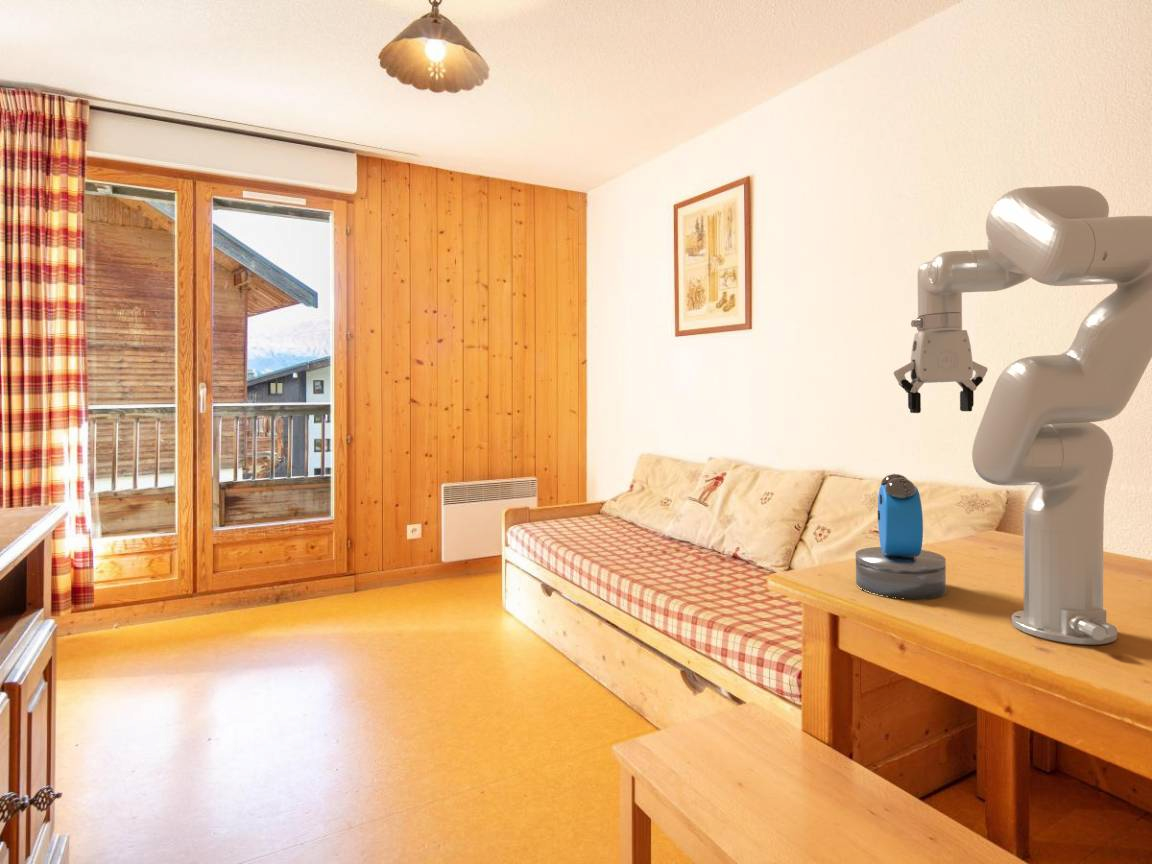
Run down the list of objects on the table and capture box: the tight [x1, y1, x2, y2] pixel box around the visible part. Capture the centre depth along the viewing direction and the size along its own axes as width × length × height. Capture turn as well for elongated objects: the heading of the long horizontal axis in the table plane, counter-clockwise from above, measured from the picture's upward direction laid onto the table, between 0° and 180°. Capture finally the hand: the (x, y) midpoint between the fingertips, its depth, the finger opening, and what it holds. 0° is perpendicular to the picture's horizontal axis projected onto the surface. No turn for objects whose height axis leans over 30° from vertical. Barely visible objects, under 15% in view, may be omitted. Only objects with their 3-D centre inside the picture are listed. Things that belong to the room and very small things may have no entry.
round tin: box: [855, 546, 947, 601], centre depth 120 cm, size 15×15×6 cm
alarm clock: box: [877, 473, 924, 561], centre depth 120 cm, size 13×6×15 cm, turn 161°
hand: (940, 412), depth 127 cm, fingers open, 9 cm apart
